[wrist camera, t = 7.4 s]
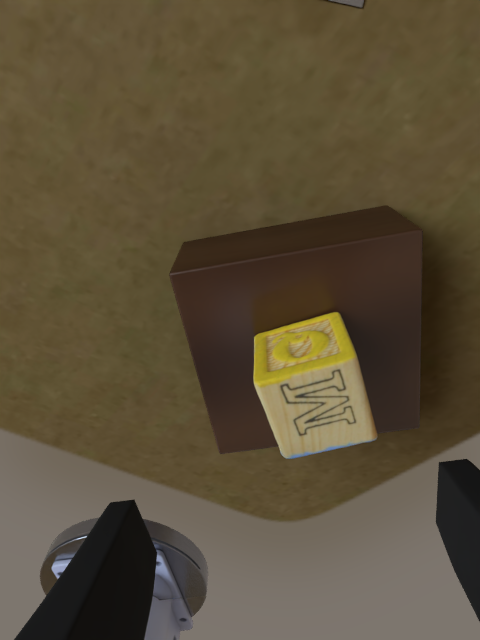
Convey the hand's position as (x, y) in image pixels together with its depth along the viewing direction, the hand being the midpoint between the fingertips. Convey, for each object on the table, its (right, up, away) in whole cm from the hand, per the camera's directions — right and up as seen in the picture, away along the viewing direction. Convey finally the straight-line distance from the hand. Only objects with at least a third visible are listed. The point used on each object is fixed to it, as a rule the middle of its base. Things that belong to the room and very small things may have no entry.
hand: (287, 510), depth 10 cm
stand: (+1, +5, +8) cm, 9 cm away
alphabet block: (+1, +3, +5) cm, 6 cm away
